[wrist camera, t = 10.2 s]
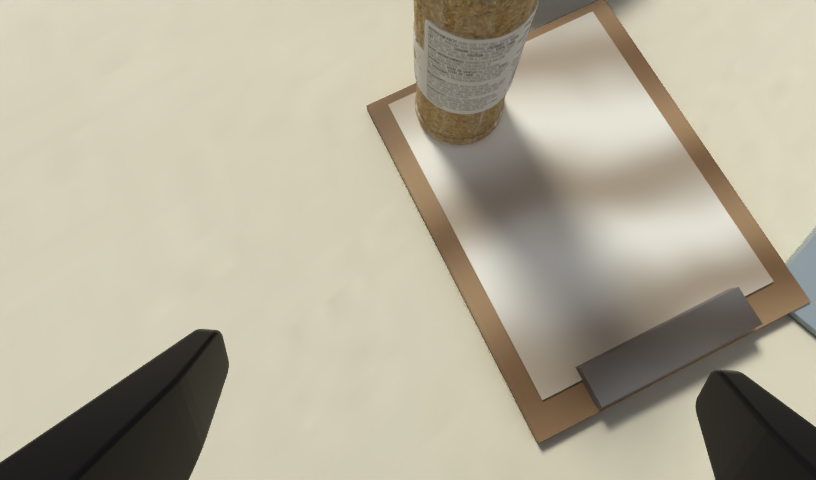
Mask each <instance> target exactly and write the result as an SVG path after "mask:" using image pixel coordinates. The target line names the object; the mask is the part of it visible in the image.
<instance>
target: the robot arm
mask: <svg viewBox="0 0 816 480" xmlns="http://www.w3.org/2000/svg"><path fill="white" fill-rule="evenodd" d="M228 368H229V361H228V356H227V352H226V348H225V344H224V340H223V336H222V334H221V332H220V331H217V330H209V329H198V330H195V331H194V332H192V333H191V334H189V335H188V336H186V337H185V338H183V339H182V340H180V341H179V342H177V343H176V344H174V345H173V346H171V347H170V348H168V349H167V350H166V351H164V352H163V353H161V354H160V355H158V356H157V357H155V358H154V359H152V360H151V361H149V362H148V363H146V364H145V365H143V366H142V367H140V368H139V369H138V370H136V371H135V372H133V373H132V374H130V375H129V376H127V377H126V378H124V379H123V380H121V381H120V382H118V383H117V384H115V385H114V386H112V387H111V388H109V389H108V390H107V391H105V392H104V393H102V394H101V395H99V396H98V397H96V398H95V399H93V400H92V401H90V402H89V403H87V404H86V405H84V406H83V407H81V408H80V409H79V410H77V411H76V412H74V413H73V414H71V415H70V416H68V417H67V418H65V419H64V420H62V421H61V422H59V423H58V424H56V425H55V426H53V427H52V428H50V429H49V430H48V431H46V432H45V433H43V434H42V435H40V436H39V437H37V438H36V439H34V440H33V441H31V442H30V443H28V444H27V445H25V446H24V447H22V448H21V449H20V450H18V451H17V452H15V453H14V454H12V455H11V456H9V457H8V458H6V459H5V460H3V461H2V462H0V480H189V478H190V476H191V473H192V471H193V469H194V467H195V465H196V462H197V460H198V458H199V455H200V453H201V451H202V448H203V445H204V442H205V440H206V437H207V434H208V431H209V428H210V425H211V422H212V419H213V416H214V413H215V410H216V407H217V404H218V401H219V398H220V395H221V392H222V389H223V385H224V382H225V379H226V376H227V373H228ZM696 413H697V417H698V420H699V424H700V427H701V431H702V434H703V438H704V441H705V445H706V448H707V452H708V455H709V459H710V462H711V466H712V469H713V473H714V476H715V480H816V427H815V426H814V425H812V424H811V423H810V422H808V421H807V420H805V419H804V418H803V417H801V416H800V415H799V414H797V413H796V412H795V411H793V410H792V409H791V408H789V407H788V406H786V405H785V404H784V403H782V402H781V401H780V400H778V399H777V398H776V397H774V396H773V395H772V394H770V393H769V392H767V391H766V390H765V389H763V388H762V387H761V386H759V385H758V384H757V383H755V382H754V381H753V380H751V379H750V378H749V377H747V376H746V375H744V374H743V373H741V372H738V371H731V370H714V371H713V372H711V373H710V375H709V377H708V379H707V381H706V382H705V384H704V386H703V388H702V390H701V392H700V394H699V395H698V397H697V400H696Z"/></svg>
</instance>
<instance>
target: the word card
mask: <svg viewBox="0 0 816 480" xmlns="http://www.w3.org/2000/svg"><path fill="white" fill-rule="evenodd" d="M785 265H786V266H787V268H788V269H789V271H790V272H791V273H792V275H793V276H794V278H795V279H796V281H797V282H798V284H799V285H800V287H801V288H802V290H803V291H804V293H805V294H806V295H807V297H808V298H809V300H810V301H811V302H809V303H807V304H805V305H803V306H802V307H800V308H798V309H796V310H794V311H792V312H790V313H788V314H789V315H790V316H792V317H793V318H794V319H795V320H796V321H798V322H799V323H800V324H801V325H803V326H804V327H805V328H806V329H807V330H809V331H810V332H811V333H812V334H814V335H815V336H816V228H815V229H814V230H813V231H812V232H811V234H810V235H809V236H808V237H807V238H806V240H805V241H804V242H803V243H802V244H801V246H800V247H799V248H798V249H797V251H796V252H795V253H794V254H793V255H792V257H791V258H790V259H789V260H788V261H787V263H786V264H785Z"/></svg>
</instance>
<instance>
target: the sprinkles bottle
mask: <svg viewBox="0 0 816 480" xmlns="http://www.w3.org/2000/svg"><path fill="white" fill-rule="evenodd" d="M538 4H539V0H414V26H413V41H414V70H415V78H416V85H417V91H416V96H415V111H416V114H417V117H418V120H419V122H420V124H421V125H422V126H423V127H424V129H425V130H426V131H427V132H428V133H429V134H430V135H431V136H433V137H434V138H435V139H437V140H438V141H441V142H445V143H448V144H452V145H467V144H473V143H475V142H478V141H480V140H482V139H484V138H485V137H486V136H488V135H489V134H490V133H491V132H492V131H493V130H494V129H495V128H496V127H497V125H498V124H499V122H500V119H501V117H502V115H503V109H504V99H505V96H506V93H507V92H508V90H509V88H510V86H511V84H512V81H513V78H514V75H515V72H516V69H517V66H518V63H519V60H520V57H521V54H522V51H523V48H524V45H525V42H526V39H527V36H528V33H529V30H530V27H531V24H532V21H533V19H534V16H535V13H536V10H537V7H538Z"/></svg>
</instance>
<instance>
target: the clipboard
mask: <svg viewBox="0 0 816 480" xmlns="http://www.w3.org/2000/svg"><path fill="white" fill-rule="evenodd" d="M416 91H417V85H416V83H415V84H413V85H411V86H409V87H407V88H404V89H402V90H400V91H398V92H396V93H393V94H391V95H389V96H387V97H385V98H382V99H380V100H378V101H376V102H374V103H371V104H369V105H367V110H368V112H369V114H370V116H371V118H372V120H373V122H374V124H375V126H376V128H377V130H378V132H379V134H380V136H381V138H382V140H383V142H384V144H385V145H386V147H387V149H388V151H389V153H390V155H391V157H392V159H393V161H394V163H395V165H396V167H397V169H398V171H399V173H400V175H401V177H402V179H403V181H404V183H405V185H406V187H407V189H408V191H409V193H410V195H411V197H412V198H413V200H414V202H415V204H416V206H417V208H418V210H419V212H420V214H421V216H422V218H423V220H424V222H425V224H426V226H427V228H428V230H429V232H430V234H431V236H432V238H433V240H434V242H435V244H436V246H437V248H438V250H439V251H440V253H441V255H442V257H443V259H444V261H445V263H446V265H447V267H448V269H449V271H450V273H451V275H452V277H453V279H454V281H455V283H456V285H457V287H458V289H459V291H460V293H461V295H462V297H463V299H464V301H465V303H466V304H467V306H468V308H469V310H470V312H471V314H472V316H473V318H474V320H475V322H476V324H477V326H478V328H479V330H480V332H481V334H482V336H483V338H484V340H485V342H486V344H487V346H488V348H489V350H490V352H491V354H492V356H493V357H494V359H495V361H496V363H497V365H498V367H499V369H500V371H501V373H502V375H503V377H504V379H505V381H506V383H507V385H508V387H509V389H510V391H511V393H512V395H513V397H514V399H515V401H516V403H517V405H518V407H519V409H520V410H521V412H522V414H523V416H524V418H525V420H526V422H527V424H528V426H529V428H530V430H531V432H532V434H533V436H534V438H535V440H536V441H537V442H538V443H540V442H542V441H544V440H546V439H548V438H550V437H552V436H554V435H555V434H557V433H559V432H561V431H563V430H565V429H567V428H569V427H571V426H573V425H575V424H577V423H579V422H580V421H582V420H584V419H586V418H588V417H590V416H592V415H594V414H596V413H598V412H600V411H602V410H604V409H605V408H607V407H609V406H611V405H613V404H615V403H617V402H619V401H621V400H623V399H625V398H627V397H629V396H630V395H632V394H634V393H636V392H638V391H640V390H642V389H644V388H646V387H648V386H650V385H652V384H654V383H655V382H657V381H659V380H661V379H663V378H665V377H667V376H669V375H671V374H673V373H675V372H677V371H678V370H680V369H682V368H684V367H686V366H688V365H690V364H692V363H694V362H696V361H698V360H700V359H702V358H703V357H705V356H707V355H709V354H711V353H713V352H715V351H717V350H719V349H721V348H723V347H725V346H727V345H728V344H730V343H732V342H734V341H736V340H738V339H740V338H742V337H744V336H746V335H748V334H750V333H752V332H753V331H755V330H757V329H759V328H761V327H763V326H765V325H767V324H769V323H771V322H773V321H775V320H777V319H778V318H780V317H782V316H784V315H786V314H788V313H790V312H792V311H794V310H796V309H798V308H800V307H802V306H803V305H805V304H807V303H809V302H811V301H810V300H809V298H808V297H807V295H806V294H805V293H804V291H803V290H802V288H801V287H800V285H799V284H798V282H797V281H796V279H795V278H794V276H793V275H792V273H791V272H790V271H789V269H788V268H787V266H786V265H785V263H784V262H783V260H782V259H781V257H780V256H779V254H778V253H777V251H776V250H775V249H774V247H773V246H772V244H771V243H770V241H769V240H768V238H767V237H766V235H765V234H764V232H763V231H762V230H761V228H760V227H759V225H758V224H757V222H756V221H755V219H754V218H753V216H752V215H751V213H750V212H749V210H748V209H747V208H746V206H745V205H744V203H743V202H742V200H741V199H740V197H739V196H738V194H737V193H736V191H735V190H734V188H733V187H732V186H731V184H730V183H729V181H728V180H727V178H726V177H725V175H724V174H723V172H722V171H721V169H720V168H719V167H718V165H717V164H716V162H715V161H714V159H713V158H712V156H711V155H710V153H709V152H708V150H707V149H706V147H705V146H704V145H703V143H702V142H701V140H700V139H699V137H698V136H697V134H696V133H695V131H694V130H693V128H692V127H691V125H690V124H689V123H688V121H687V120H686V118H685V117H684V115H683V114H682V112H681V111H680V109H679V108H678V106H677V105H676V104H675V102H674V101H673V99H672V98H671V96H670V95H669V93H668V92H667V90H666V89H665V87H664V86H663V84H662V83H661V82H660V80H659V79H658V77H657V76H656V74H655V73H654V71H653V70H652V68H651V67H650V65H649V64H648V62H647V61H646V60H645V58H644V57H643V55H642V54H641V52H640V51H639V49H638V48H637V46H636V45H635V43H634V42H633V40H632V39H631V38H630V36H629V35H628V33H627V32H626V30H625V29H624V27H623V26H622V24H621V23H620V21H619V20H618V19H617V17H616V16H615V14H614V13H613V11H612V10H611V8H610V7H609V5H608V4H607V2H606V1H605V0H598V1H596V2H594V3H591V4H589V5H587V6H585V7H583V8H580V9H578V10H576V11H574V12H572V13H569V14H567V15H565V16H563V17H561V18H558V19H556V20H554V21H552V22H550V23H547V24H545V25H543V26H541V27H539V28H536V29H534V30H532V31H530V32H529V33H528V36H527V39H526V42H525V45H524V48H523V51H522V54H521V57H520V60H519V63H518V66H517V69H516V72H515V75H514V78H513V81H512V84H511V86H510V88H509V90H508V92H507V93H506V96H505V99H504V109H503V115H502V117H501V119H500V122H499V124H498V125H497V127H496V128H495V129H494V130H493V131H492V132H491V133H490V134H489V135H488V136H486V137H485V138H484V139H482V140H480V141H478V142H475V143H473V144H467V145H452V144H448V143H445V142H441V141H438V140H437V139H435V138H434V137H433V136H431V135H430V134H429V133H428V132H427V131H426V130H425V129H424V127H423V126H422V125H421V124H420V122H419V120H418V117H417V114H416V111H415V96H416Z"/></svg>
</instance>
